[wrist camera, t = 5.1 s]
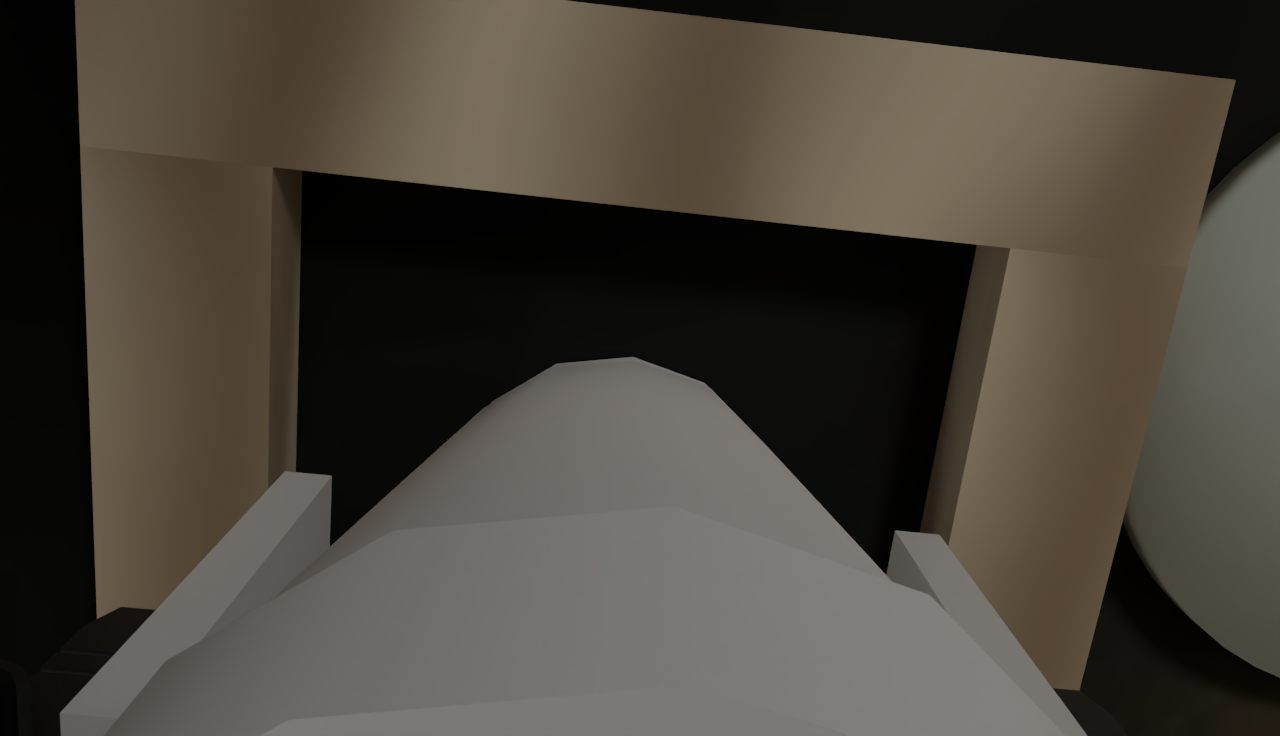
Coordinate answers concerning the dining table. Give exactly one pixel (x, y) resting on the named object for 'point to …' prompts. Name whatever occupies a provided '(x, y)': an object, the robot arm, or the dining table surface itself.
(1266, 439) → the pale grey-green round part
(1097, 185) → the birch pocket board
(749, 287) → the dining table surface
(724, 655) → the foam cup
